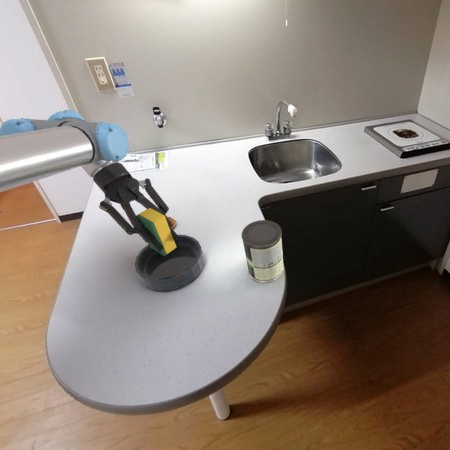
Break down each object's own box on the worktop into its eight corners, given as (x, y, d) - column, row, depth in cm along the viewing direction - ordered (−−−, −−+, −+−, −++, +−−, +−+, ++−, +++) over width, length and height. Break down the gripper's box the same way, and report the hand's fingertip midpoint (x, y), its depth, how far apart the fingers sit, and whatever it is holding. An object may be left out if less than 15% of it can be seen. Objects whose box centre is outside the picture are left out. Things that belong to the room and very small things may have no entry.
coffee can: (240, 274, 86) (233, 237, 77) (262, 251, 93) (257, 215, 84) (270, 288, 82) (266, 251, 73) (290, 264, 89) (289, 227, 80)
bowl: (176, 300, 80) (171, 288, 76) (127, 280, 85) (120, 268, 82) (216, 256, 92) (213, 244, 89) (171, 240, 97) (166, 228, 94)
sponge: (164, 256, 80) (150, 224, 73) (150, 247, 82) (135, 215, 75) (176, 247, 82) (164, 215, 75) (162, 239, 85) (149, 207, 78)
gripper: (134, 162, 83) (190, 230, 87) (70, 192, 73) (137, 267, 76) (139, 149, 78) (199, 222, 81) (70, 179, 67) (143, 262, 70)
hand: (169, 244), depth 79 cm, fingers closed on sponge, 4 cm apart
